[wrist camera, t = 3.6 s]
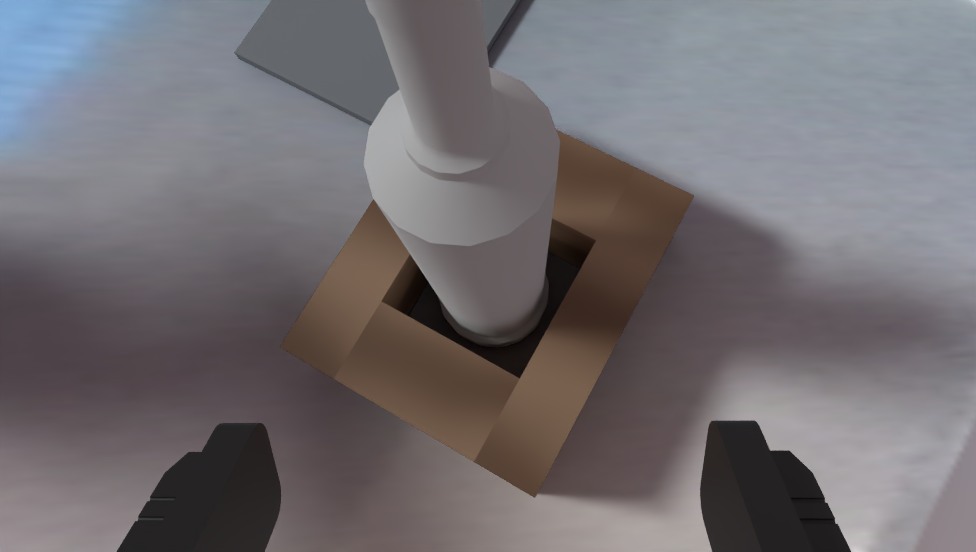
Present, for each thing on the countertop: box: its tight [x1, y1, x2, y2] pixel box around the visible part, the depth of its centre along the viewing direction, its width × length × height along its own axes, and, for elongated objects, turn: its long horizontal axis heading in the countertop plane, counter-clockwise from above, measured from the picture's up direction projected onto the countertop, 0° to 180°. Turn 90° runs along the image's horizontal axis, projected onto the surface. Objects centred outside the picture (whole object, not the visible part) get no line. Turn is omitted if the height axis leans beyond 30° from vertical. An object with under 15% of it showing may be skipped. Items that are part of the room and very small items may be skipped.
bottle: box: [364, 0, 560, 348], centre depth 22 cm, size 5×5×25 cm
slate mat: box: [234, 0, 521, 125], centre depth 39 cm, size 12×12×1 cm
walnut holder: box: [280, 130, 694, 498], centre depth 32 cm, size 14×12×5 cm
